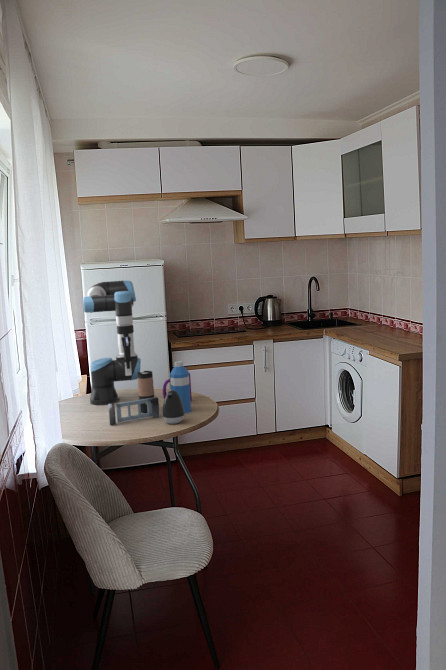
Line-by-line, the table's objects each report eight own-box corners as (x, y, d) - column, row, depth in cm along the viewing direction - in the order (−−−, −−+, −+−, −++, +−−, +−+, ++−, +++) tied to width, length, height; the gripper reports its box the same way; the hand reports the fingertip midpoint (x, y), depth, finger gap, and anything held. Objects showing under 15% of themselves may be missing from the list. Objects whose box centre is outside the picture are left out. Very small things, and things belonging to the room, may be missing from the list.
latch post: (146, 417, 273) (145, 397, 271) (157, 415, 275) (155, 396, 274) (149, 419, 270) (147, 399, 268) (159, 417, 272) (158, 397, 271)
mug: (194, 401, 297) (193, 373, 295) (167, 406, 290) (165, 378, 288) (187, 398, 305) (185, 371, 303) (160, 403, 298) (158, 375, 296)
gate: (117, 421, 265) (116, 403, 264) (151, 415, 272) (149, 398, 271) (118, 422, 264) (116, 404, 262) (152, 416, 271) (150, 398, 270)
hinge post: (109, 424, 264) (107, 403, 263) (115, 423, 265) (113, 402, 264) (110, 425, 262) (109, 404, 260) (116, 424, 263) (115, 403, 261)
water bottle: (179, 408, 286) (176, 359, 282) (194, 410, 281) (191, 360, 278) (168, 413, 278) (165, 363, 274) (184, 415, 273) (181, 364, 270)
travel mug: (152, 413, 279) (149, 373, 276) (137, 413, 280) (134, 373, 278) (157, 409, 286) (154, 370, 283) (142, 409, 288) (140, 370, 285)
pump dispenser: (159, 425, 258) (157, 392, 256) (167, 418, 268) (165, 387, 266) (180, 426, 256) (178, 393, 253) (188, 419, 266) (186, 387, 263)
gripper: (134, 325, 255) (138, 377, 258) (131, 322, 267) (135, 371, 271) (117, 327, 253) (121, 378, 256) (115, 324, 265) (119, 373, 269)
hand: (128, 375), depth 263 cm, fingers closed
